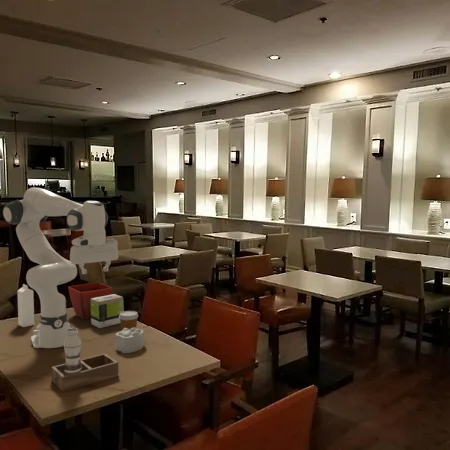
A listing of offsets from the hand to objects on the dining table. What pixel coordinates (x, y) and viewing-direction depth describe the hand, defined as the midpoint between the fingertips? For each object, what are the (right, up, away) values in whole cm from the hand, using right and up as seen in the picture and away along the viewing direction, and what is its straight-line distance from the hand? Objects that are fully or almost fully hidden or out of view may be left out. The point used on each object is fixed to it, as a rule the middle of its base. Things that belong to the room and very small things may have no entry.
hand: (95, 272), depth 184 cm
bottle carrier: (0, -40, -12) cm, 42 cm away
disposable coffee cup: (+6, -36, +36) cm, 51 cm away
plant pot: (-24, -33, +70) cm, 81 cm away
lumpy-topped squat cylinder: (+11, -38, +21) cm, 45 cm away
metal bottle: (-4, -40, -15) cm, 43 cm away
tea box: (-10, -34, +56) cm, 66 cm away
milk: (-53, -34, +52) cm, 82 cm away
